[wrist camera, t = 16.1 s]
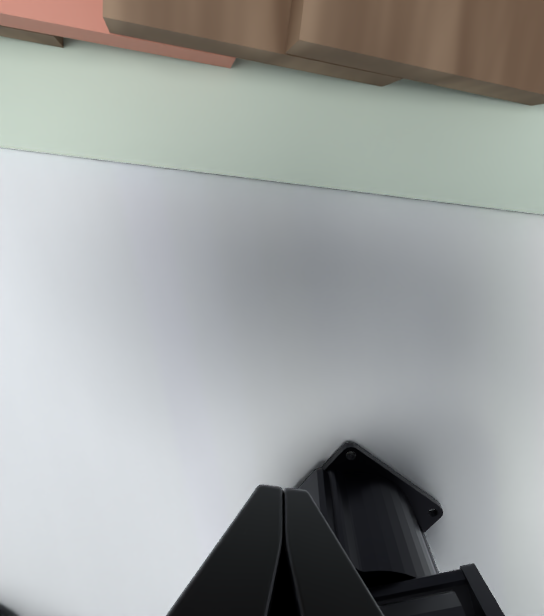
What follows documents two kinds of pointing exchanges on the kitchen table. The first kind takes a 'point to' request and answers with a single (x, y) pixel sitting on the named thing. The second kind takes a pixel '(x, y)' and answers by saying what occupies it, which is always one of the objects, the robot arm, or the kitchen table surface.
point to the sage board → (271, 124)
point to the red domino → (90, 27)
